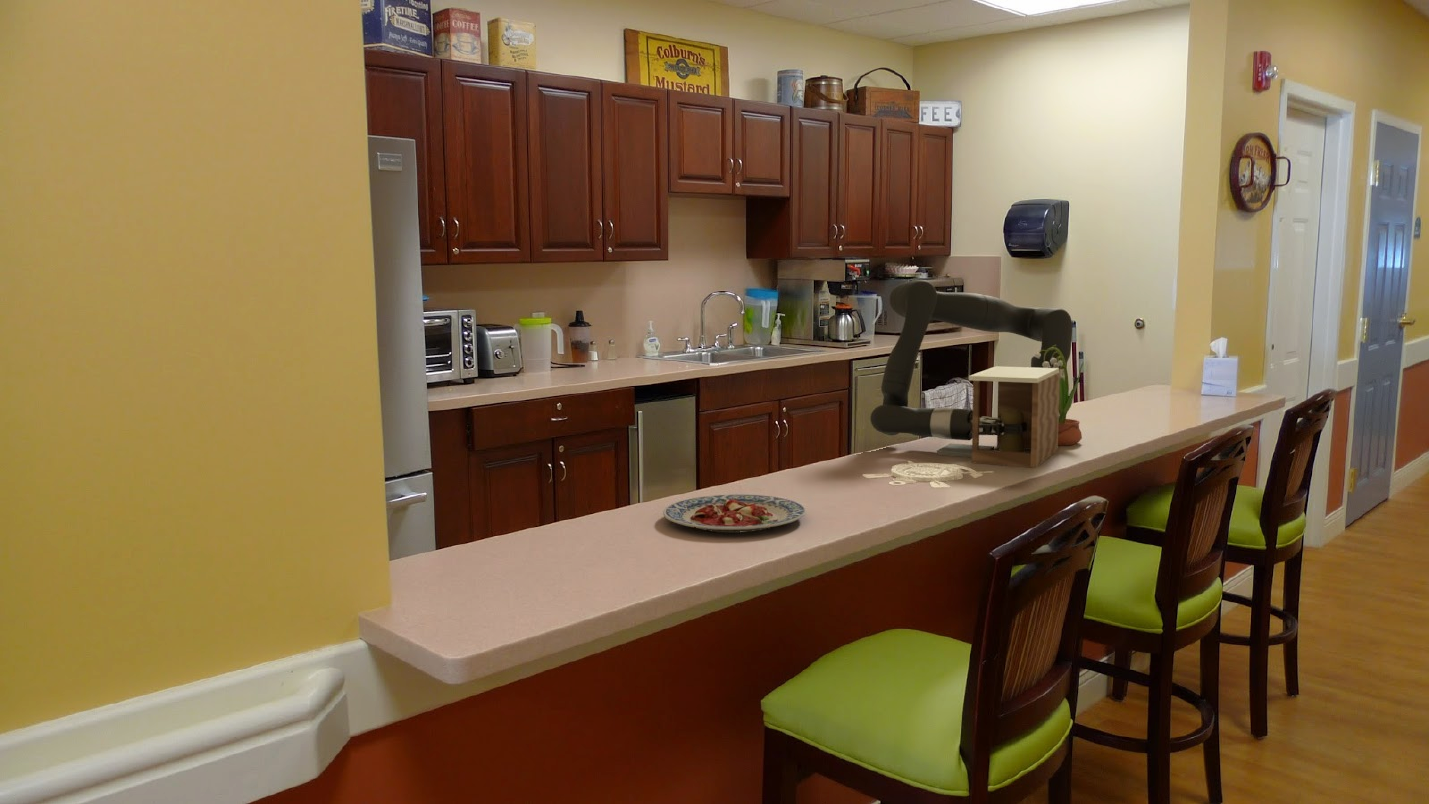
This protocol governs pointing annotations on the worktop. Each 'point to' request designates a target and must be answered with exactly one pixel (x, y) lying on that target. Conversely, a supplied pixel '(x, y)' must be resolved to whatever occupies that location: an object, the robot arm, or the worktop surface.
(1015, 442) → the cork
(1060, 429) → the potted flower
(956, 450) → the slate mat
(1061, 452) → the worktop surface
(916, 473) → the pendant
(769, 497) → the ceramic plate
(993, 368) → the wooden cabinet
